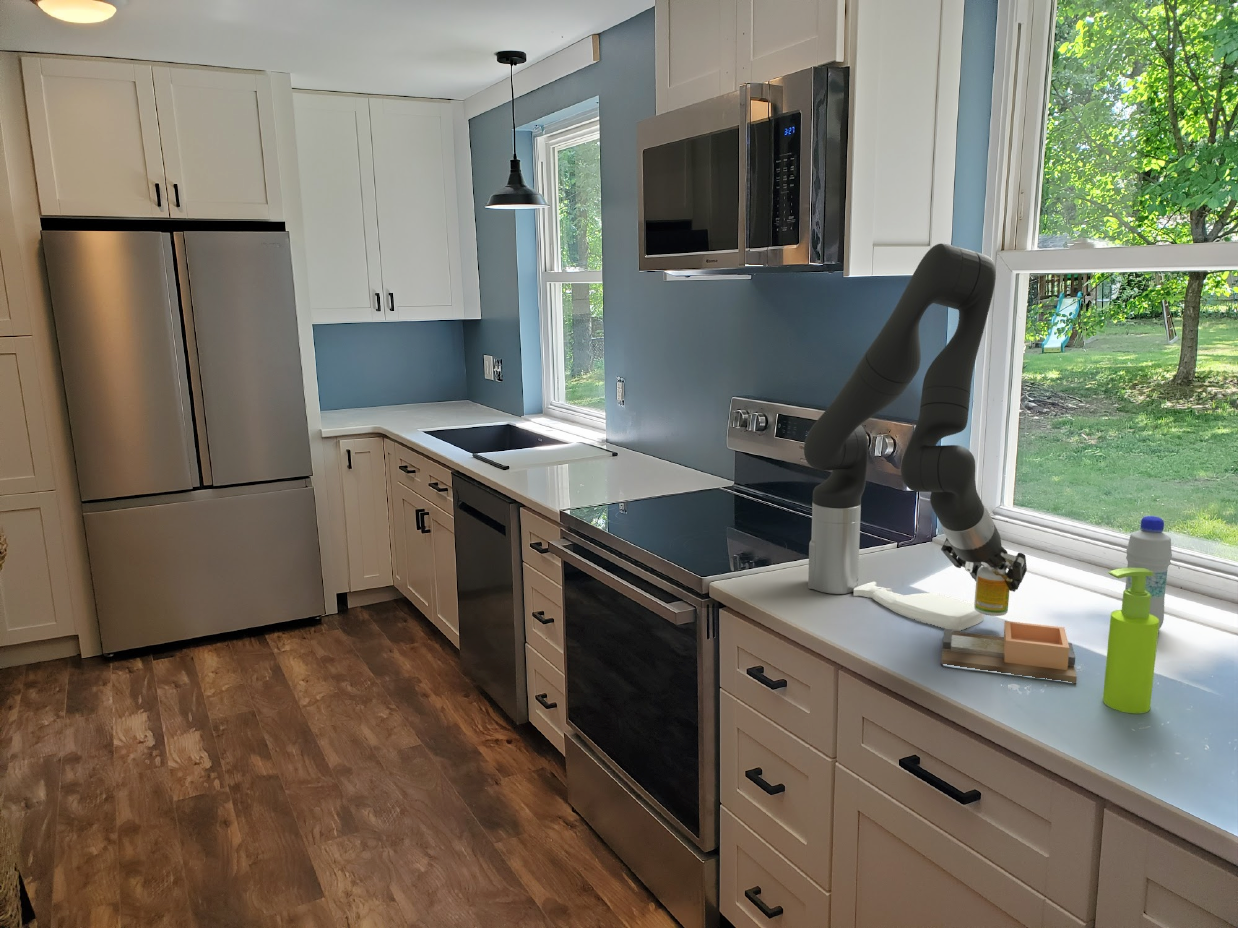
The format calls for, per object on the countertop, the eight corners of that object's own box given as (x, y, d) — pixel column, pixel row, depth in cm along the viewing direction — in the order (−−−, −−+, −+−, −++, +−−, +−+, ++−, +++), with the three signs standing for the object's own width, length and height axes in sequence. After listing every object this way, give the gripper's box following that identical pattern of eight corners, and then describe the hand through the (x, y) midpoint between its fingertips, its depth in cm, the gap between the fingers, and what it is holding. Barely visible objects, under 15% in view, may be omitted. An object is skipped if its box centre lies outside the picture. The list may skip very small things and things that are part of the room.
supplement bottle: (1010, 617, 152) (1015, 562, 150) (976, 615, 153) (981, 560, 151) (1004, 606, 157) (1008, 553, 155) (971, 604, 158) (975, 551, 156)
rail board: (941, 666, 141) (941, 659, 141) (944, 636, 153) (944, 630, 153) (1076, 684, 134) (1076, 676, 134) (1068, 651, 146) (1069, 644, 146)
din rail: (942, 650, 144) (943, 641, 144) (944, 637, 149) (944, 628, 149) (1074, 667, 137) (1075, 657, 137) (1071, 652, 142) (1071, 643, 142)
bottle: (1158, 623, 157) (1170, 513, 153) (1168, 637, 151) (1180, 522, 147) (1115, 619, 159) (1126, 510, 155) (1123, 633, 153) (1134, 520, 149)
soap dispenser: (1087, 696, 130) (1099, 564, 126) (1132, 693, 131) (1145, 562, 127) (1112, 715, 124) (1125, 577, 120) (1159, 712, 125) (1174, 575, 121)
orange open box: (1004, 662, 139) (1005, 640, 139) (1003, 641, 147) (1004, 620, 147) (1067, 669, 136) (1069, 647, 135) (1062, 648, 144) (1064, 627, 143)
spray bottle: (955, 636, 154) (841, 600, 173) (990, 621, 161) (876, 588, 180) (955, 619, 154) (841, 586, 173) (990, 605, 160) (876, 574, 179)
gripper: (1022, 518, 141) (1047, 574, 151) (937, 502, 151) (966, 555, 162) (1004, 557, 139) (1031, 611, 149) (919, 538, 149) (949, 590, 159)
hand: (997, 582), depth 155 cm, fingers closed on supplement bottle, 5 cm apart
